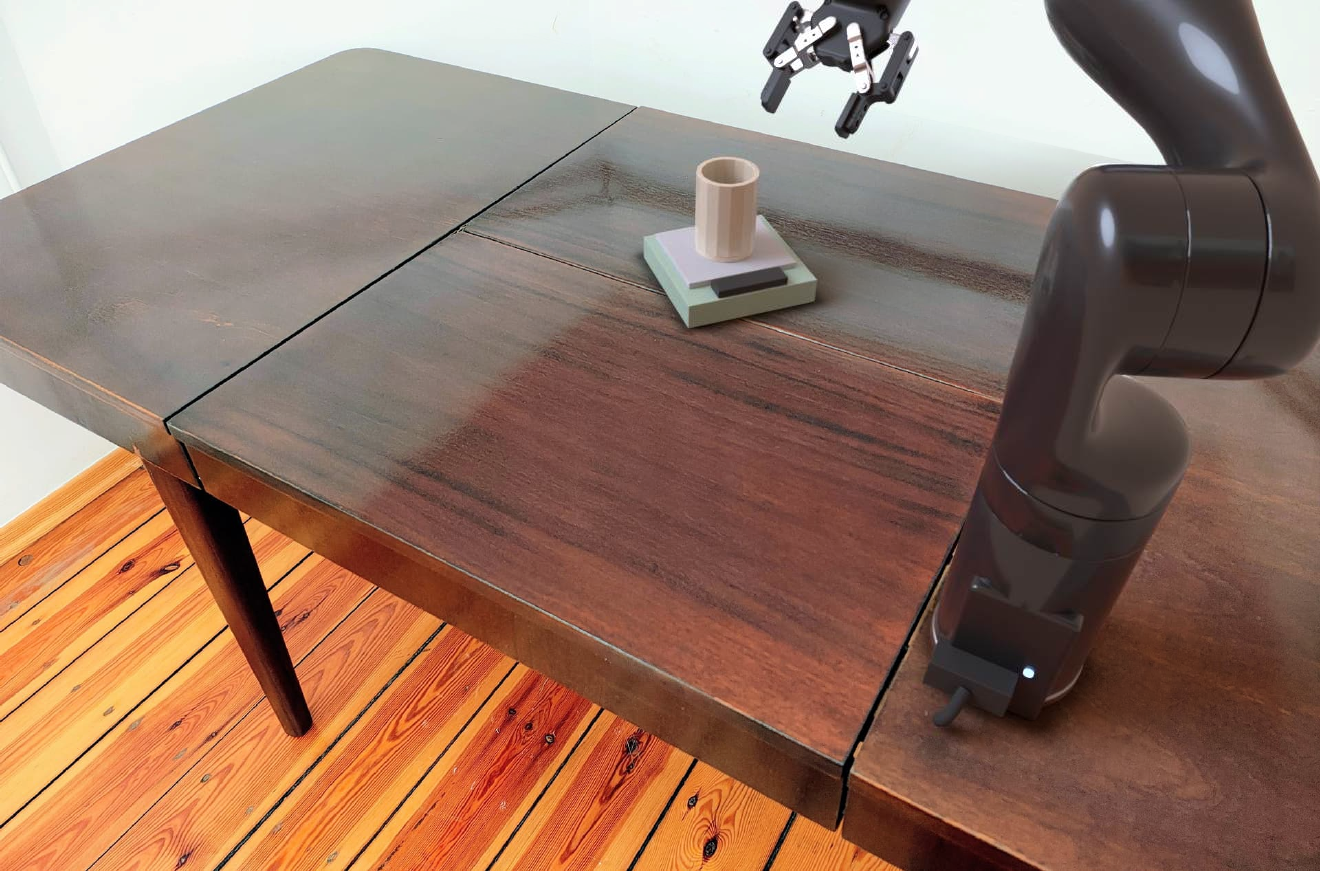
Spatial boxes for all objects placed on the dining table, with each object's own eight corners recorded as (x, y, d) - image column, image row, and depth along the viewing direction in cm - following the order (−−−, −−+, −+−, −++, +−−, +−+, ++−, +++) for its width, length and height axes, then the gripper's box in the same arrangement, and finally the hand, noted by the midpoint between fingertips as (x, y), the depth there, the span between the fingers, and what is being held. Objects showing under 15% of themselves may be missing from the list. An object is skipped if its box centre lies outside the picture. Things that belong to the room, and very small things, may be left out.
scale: (814, 301, 90) (818, 272, 87) (688, 328, 87) (688, 299, 84) (759, 235, 99) (762, 207, 96) (643, 257, 96) (643, 229, 93)
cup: (738, 268, 88) (742, 192, 83) (684, 252, 90) (685, 177, 85) (763, 240, 92) (770, 165, 87) (711, 226, 94) (714, 151, 89)
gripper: (808, -73, 88) (728, 84, 90) (943, -44, 82) (854, 125, 83) (832, -26, 95) (757, 119, 96) (959, 4, 88) (877, 160, 90)
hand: (802, 121), depth 90 cm, fingers open, 8 cm apart
